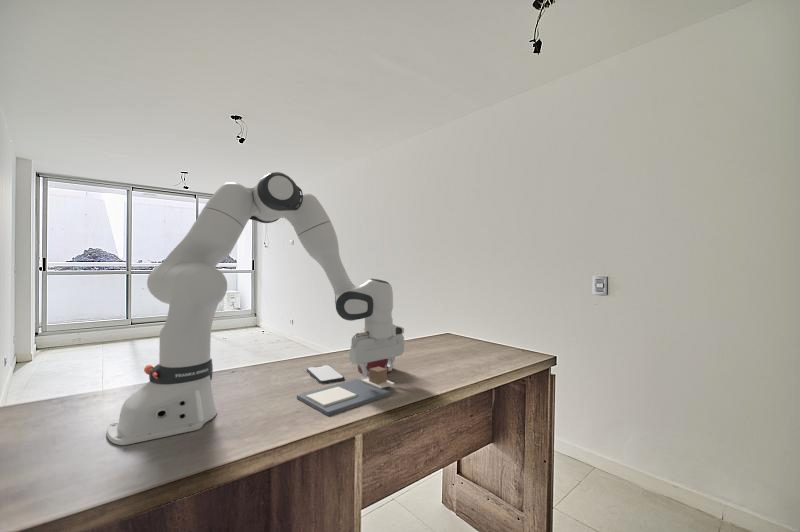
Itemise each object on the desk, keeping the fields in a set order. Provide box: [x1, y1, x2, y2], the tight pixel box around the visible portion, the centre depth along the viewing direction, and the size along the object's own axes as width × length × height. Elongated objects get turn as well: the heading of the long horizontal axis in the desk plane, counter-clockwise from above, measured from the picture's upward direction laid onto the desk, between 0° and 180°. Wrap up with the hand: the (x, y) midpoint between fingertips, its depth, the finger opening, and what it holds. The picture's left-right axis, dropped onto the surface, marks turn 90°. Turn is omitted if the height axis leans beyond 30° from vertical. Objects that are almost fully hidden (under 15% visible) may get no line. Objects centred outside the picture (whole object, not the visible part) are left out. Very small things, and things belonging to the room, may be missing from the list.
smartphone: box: [306, 364, 345, 384], centre depth 128 cm, size 9×2×16 cm
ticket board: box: [296, 378, 391, 417], centre depth 109 cm, size 22×16×2 cm
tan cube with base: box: [361, 367, 395, 389], centre depth 118 cm, size 6×9×4 cm, turn 45°
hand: (377, 373), depth 118 cm, fingers open, 8 cm apart
